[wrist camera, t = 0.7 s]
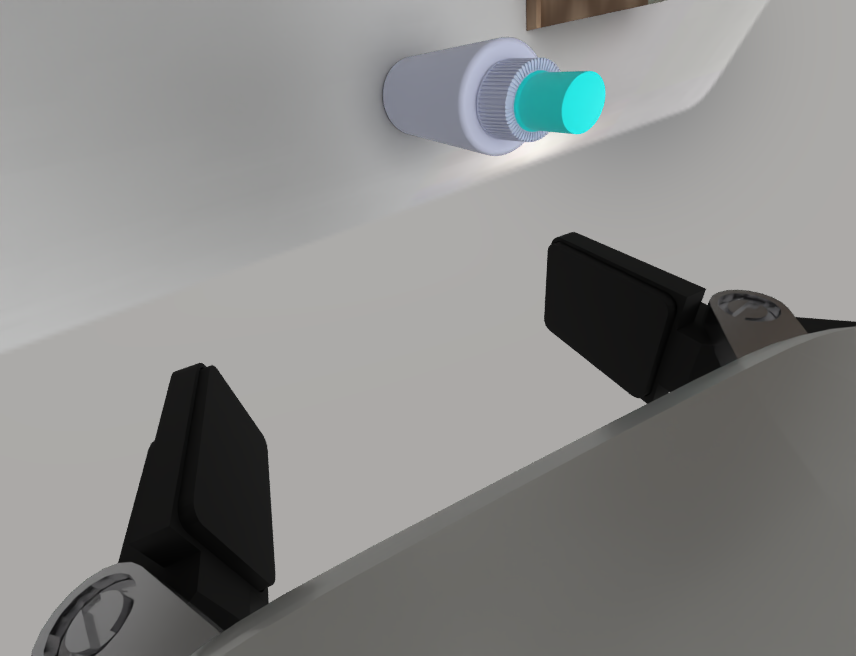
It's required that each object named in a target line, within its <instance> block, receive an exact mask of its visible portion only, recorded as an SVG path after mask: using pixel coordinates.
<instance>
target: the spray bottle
mask: <svg viewBox="0 0 856 656" xmlns="http://www.w3.org/2000/svg"><path fill="white" fill-rule="evenodd" d="M558 68H559V67H558V66H557V65H556V64H554V62H551V60H549V59H546V58H538V57H537V55H536V54H535V52H534V51H533V50H532V49H531V48H530V47H529V46H528V45H527V44H526V43H525V42H523V41H521V40H519V39H516V38H512V37H501V38H496V39H491V40H486V41H482V42H477V43H472V44H467V45H463V46H458V47H453V48H449V49H444V50H439V51H434V52H430V53H425V54H420V55H415V56H411V57H407V58H404V59H402V60H400V61H398V62H397V63H396V64H395V65H394V66H393V67H392V68H391V70H390V71H389V73H388V75H387V77H386V80H385V83H384V88H383V102H384V107H385V110H386V113H387V115H388V117H389V119H390V121H391V122H392V123H393V124H394V126H395V127H397V128H398V129H399V130H400V131H402V132H404V133H407V134H410V135H414V136H417V137H421V138H425V139H429V140H433V141H436V142H440V143H444V144H448V145H452V146H455V147H459V148H463V149H467V150H471V151H474V152H478V153H482V154H486V155H490V156H500V155H504V154H507V153H510V152H512V151H514V150H515V149H517V148H518V147H520V146H521V145H522V144H523V143H524V142H534V141H537V140H539V139H541V138H542V137H544V136H545V135H547V134H548V132H559V133H569V134H581V133H584V132H586V131H588V130H589V129H590V128H591V127H592V126H593V125H594V124H595V123H596V121H597V120H598V118H599V116H600V114H601V112H602V109H603V106H604V102H605V85H604V82H603V80H602V78H601V77H600V75H599V74H597V73H596V72H593V71H578V72H560V69H558Z"/></svg>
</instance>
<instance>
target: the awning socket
mask: <svg viewBox="0 0 856 656" xmlns="http://www.w3.org/2000/svg"><path fill="white" fill-rule="evenodd" d="M662 1H666V0H526V18H527V31H528V30H532V29H537V28H541V27H546V26H551V25H555V24H560V23H565V22H569V21H574V20H578V19H583V18H588V17H592V16H597V15H602V14H606V13H611V12H615V11H620V10H625V9H629V8H634V7H639V6H643V5H648V4H653V3H657V2H662Z"/></svg>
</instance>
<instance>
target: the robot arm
mask: <svg viewBox="0 0 856 656" xmlns="http://www.w3.org/2000/svg"><path fill="white" fill-rule="evenodd" d="M705 290H706V289H705V288H703V287H701V286H698V285H696V284H694V283H691V282H689V281H687V280H684V279H682V278H680V277H677V276H675V275H673V274H670V273H668V272H666V271H663V270H661V269H659V268H657V267H654V266H652V265H650V264H647V263H645V262H643V261H640V260H638V259H636V258H634V257H631V256H629V255H627V254H624V253H622V252H620V251H617V250H615V249H613V248H610V247H608V246H606V245H604V244H601V243H599V242H597V241H594V240H592V239H589V238H587V237H585V236H583V235H580V234H578V233H575V232H571V233H569V234H565V235H563V236H560V237H557V238H555V239H554V240H553V241H552V243H551V245H550V246H549V248H548V258H547V277H546V296H545V315H544V321H545V324H546V326H547V328H548V329H549V330H550V331H551V332H552V333H554V334H555V335H556V336H557V337H559V338H560V339H561V340H562V341H564V342H565V343H566V344H568V345H569V346H570V347H571V348H572V349H574V350H575V351H576V352H578V353H579V354H580V355H581V356H583V357H584V358H585V359H587V360H588V361H589V362H590V363H591V364H593V365H594V366H595V367H596V368H598V369H599V370H601V371H602V372H603V373H604V374H605V375H607V376H608V377H609V378H611V379H612V380H613V381H614V382H615V383H617V384H618V385H619V386H620V387H622V388H623V389H624V390H626V391H627V392H628V393H629V394H631V395H632V396H634V397H636V398H641V399H642V400H643V401H645V402H646V403H647V404H646V405H644V406H642V407H641V408H639V409H637V410H635V411H633V412H631V413H629V414H627V415H625V416H623V417H621V418H619V419H617V420H615V421H613V422H611V423H609V424H608V425H605V426H603V427H601V428H600V429H597V430H596V431H594V432H592V433H590V434H588V435H586V436H584V437H582V438H580V439H578V440H576V441H574V442H572V443H570V444H568V445H566V446H564V447H563V448H561V449H559V450H557V451H555V452H553V453H551V454H549V455H547V456H545V457H543V458H541V459H539V460H537V461H535V462H534V463H531V464H530V465H528V466H526V467H524V468H522V469H520V470H518V471H516V472H514V473H512V474H510V475H508V476H506V477H504V478H502V479H500V480H499V481H497V482H495V483H493V484H491V485H489V486H487V487H485V488H483V489H481V490H479V491H477V492H476V493H474V494H472V495H470V496H468V497H466V498H464V499H462V500H460V501H458V502H456V503H455V504H453V505H451V506H449V507H447V508H445V509H443V510H441V511H439V512H437V513H435V514H433V515H432V516H430V517H428V518H426V519H424V520H422V521H420V522H418V523H416V524H414V525H412V526H410V527H408V528H407V529H405V530H403V531H401V532H399V533H397V534H395V535H393V536H391V537H389V538H388V539H386V540H384V541H382V542H380V543H378V544H376V545H374V546H372V547H370V548H368V549H367V550H365V551H363V552H361V553H359V554H357V555H356V556H354V557H352V558H350V559H348V560H347V561H345V562H343V563H341V564H339V565H337V566H335V567H333V568H332V569H330V570H328V571H326V572H324V573H322V574H321V575H319V576H317V577H315V578H313V579H311V580H310V581H308V582H306V583H304V584H302V585H301V586H298V587H297V588H295V589H293V590H291V591H289V592H287V593H286V594H284V595H282V596H281V597H279V598H277V599H276V600H274V601H272V602H270V603H268V587H269V586H271V585H273V584H274V582H275V562H274V547H273V546H274V545H273V530H272V514H271V498H270V481H269V465H268V450H267V444H266V441H265V439H264V436H263V435H262V433H261V432H260V430H259V429H258V427H257V426H256V425H255V423H254V421H253V420H252V419H251V417H250V416H249V414H248V413H247V411H246V410H245V408H244V407H243V406H242V404H241V403H240V401H239V400H238V398H237V397H236V396H235V394H234V393H233V391H232V390H231V388H230V387H229V385H228V384H227V383H226V381H225V380H224V378H223V377H222V375H221V374H220V373H219V371H218V370H217V368H216V367H215V366H213V365H212V366H208V367H206V366H205V365H204V364H203V363H198V364H195V365H193V366H190V367H187V368H184V369H181V370H178V371H175V372H173V374H172V376H171V380H170V383H169V387H168V391H167V395H166V399H165V403H164V407H163V411H162V414H161V418H160V422H159V426H158V430H157V434H156V438H155V441H154V442H152V444H151V445H150V447H149V450H148V454H147V458H146V461H145V465H144V468H143V473H142V476H141V480H140V483H139V487H138V491H137V495H136V498H135V502H134V506H133V510H132V513H131V517H130V520H129V524H128V528H127V532H126V535H125V539H124V543H123V547H122V551H121V555H120V558H119V562H118V563H117V564H115V565H112V566H110V567H107V568H104V569H102V570H101V571H99V572H98V573H96V574H94V575H93V576H91V577H90V578H88V579H86V580H85V581H84V582H83V583H82V584H81V585H79V586H78V587H77V588H76V589H75V590H74V591H72V592H71V593H70V594H69V595H68V596H67V597H66V598H65V600H64V601H63V602H62V603H61V604H60V605H59V606H58V607H57V609H56V610H55V611H54V612H53V614H52V615H51V617H50V618H49V620H48V621H47V623H46V624H45V626H44V627H43V629H42V630H41V632H40V634H39V636H38V639H37V641H36V643H35V646H34V648H33V650H32V655H31V656H856V322H851V321H839V320H825V319H813V318H800V317H795V316H794V315H793V314H792V312H791V311H790V310H789V309H788V307H786V306H785V305H784V304H783V303H782V302H780V301H778V300H777V299H775V298H773V297H770V296H767V295H764V294H761V293H757V292H752V291H746V290H726V291H722V292H718V293H716V294H714V295H713V296H712V297H711V299H710V301H709V303H708V305H706V304H704V303H702V302H701V301H702V298H703V295H704V293H705ZM668 392H670V393H668Z"/></svg>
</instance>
